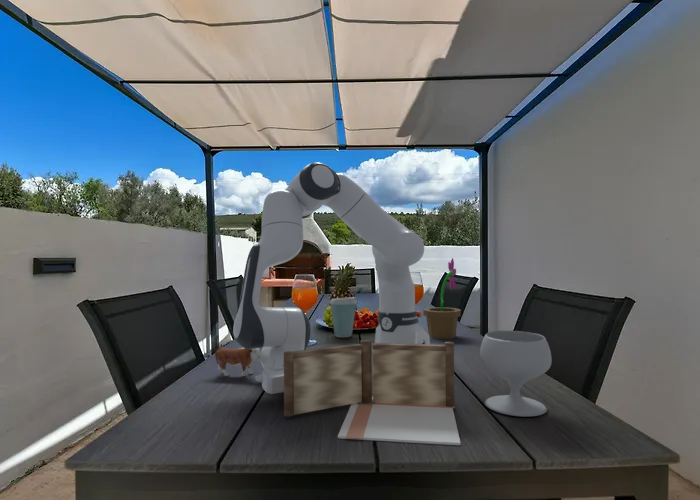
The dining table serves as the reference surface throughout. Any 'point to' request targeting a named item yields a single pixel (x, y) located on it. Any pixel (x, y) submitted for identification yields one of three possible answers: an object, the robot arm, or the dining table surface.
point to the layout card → (401, 423)
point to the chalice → (515, 368)
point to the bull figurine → (236, 358)
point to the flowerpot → (443, 313)
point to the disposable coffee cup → (343, 315)
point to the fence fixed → (408, 373)
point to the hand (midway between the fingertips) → (322, 384)
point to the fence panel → (322, 378)
